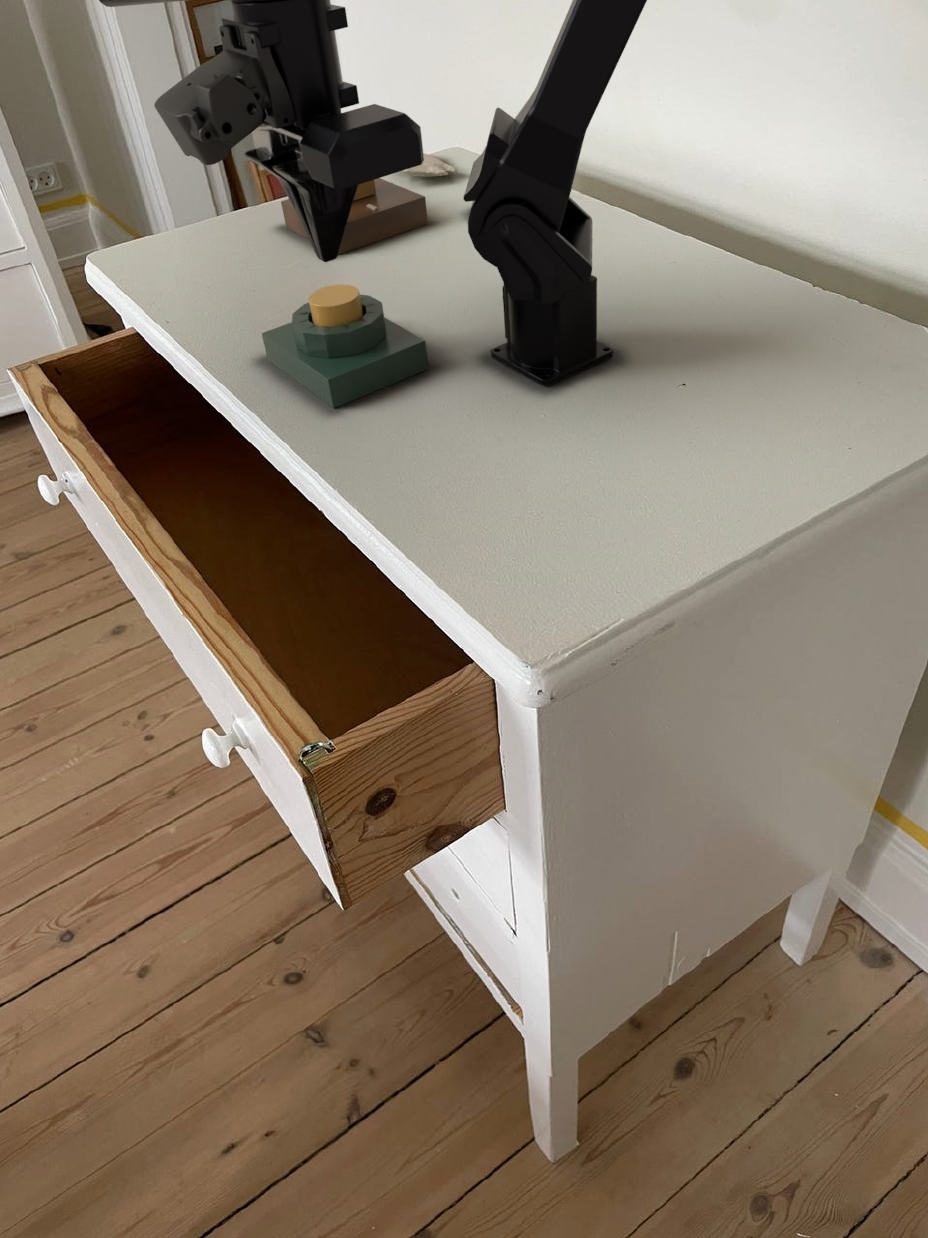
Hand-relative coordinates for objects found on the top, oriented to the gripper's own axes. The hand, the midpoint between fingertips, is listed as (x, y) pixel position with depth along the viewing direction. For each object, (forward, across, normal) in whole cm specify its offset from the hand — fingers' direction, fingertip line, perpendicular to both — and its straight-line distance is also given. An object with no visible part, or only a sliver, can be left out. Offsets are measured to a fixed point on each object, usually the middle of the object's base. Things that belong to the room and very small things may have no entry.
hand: (327, 259), depth 66 cm
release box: (+8, 0, 0) cm, 8 cm away
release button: (+4, 0, 0) cm, 4 cm away
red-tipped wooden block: (+5, -24, +15) cm, 29 cm away
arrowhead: (+7, -28, +26) cm, 38 cm away
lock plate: (+8, -24, +15) cm, 30 cm away
